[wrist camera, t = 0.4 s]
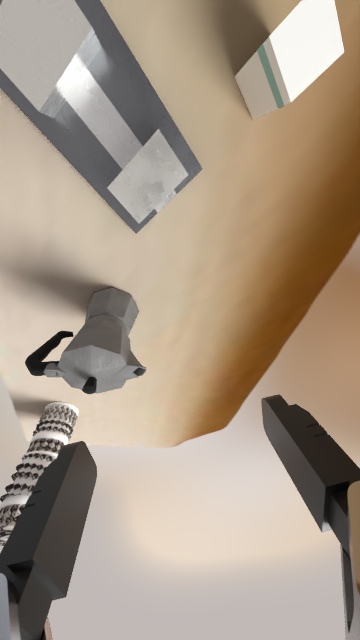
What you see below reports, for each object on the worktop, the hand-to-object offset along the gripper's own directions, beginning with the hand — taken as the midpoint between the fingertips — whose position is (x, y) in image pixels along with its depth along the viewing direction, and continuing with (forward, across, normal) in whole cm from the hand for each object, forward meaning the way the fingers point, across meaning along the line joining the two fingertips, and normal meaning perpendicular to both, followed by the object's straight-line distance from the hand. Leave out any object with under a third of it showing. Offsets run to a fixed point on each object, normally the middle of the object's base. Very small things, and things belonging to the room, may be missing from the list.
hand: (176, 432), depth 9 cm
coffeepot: (+32, +11, +1) cm, 34 cm away
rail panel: (+25, +1, -21) cm, 33 cm away
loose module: (+23, -16, -22) cm, 36 cm away
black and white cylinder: (+41, +34, +28) cm, 61 cm away
